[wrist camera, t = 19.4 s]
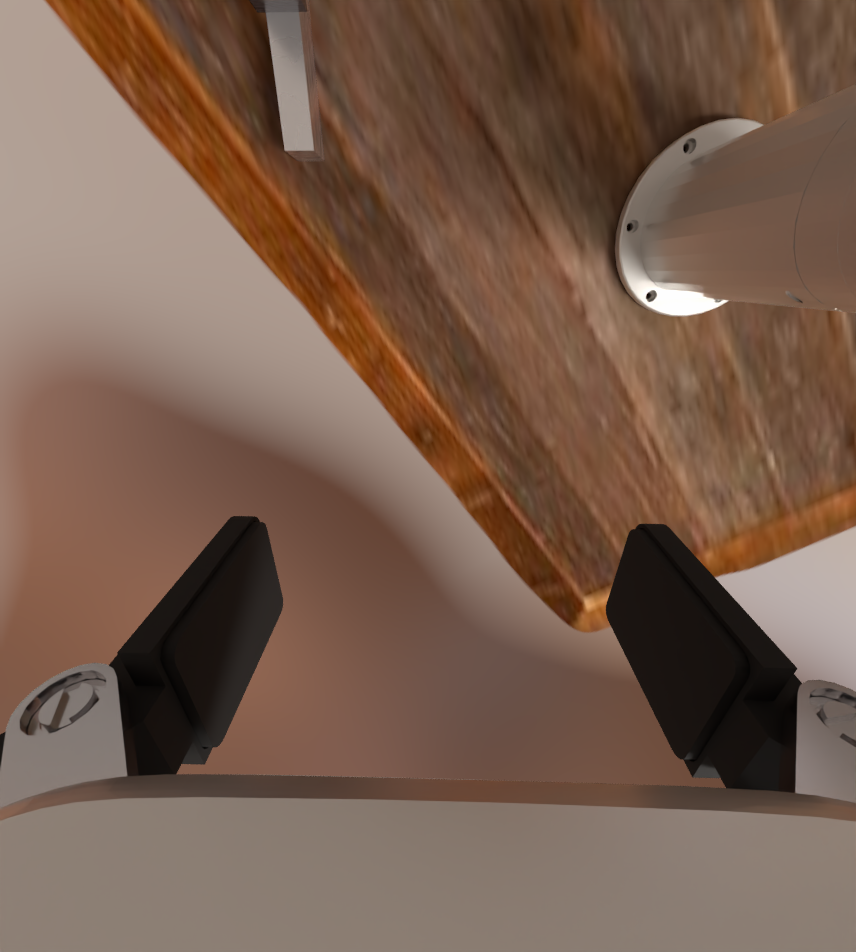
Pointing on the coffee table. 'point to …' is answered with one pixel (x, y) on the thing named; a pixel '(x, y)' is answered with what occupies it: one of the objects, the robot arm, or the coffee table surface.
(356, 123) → the coffee table surface
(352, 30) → the coffee table surface
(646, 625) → the robot arm
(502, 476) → the coffee table surface
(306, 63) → the slider lever
